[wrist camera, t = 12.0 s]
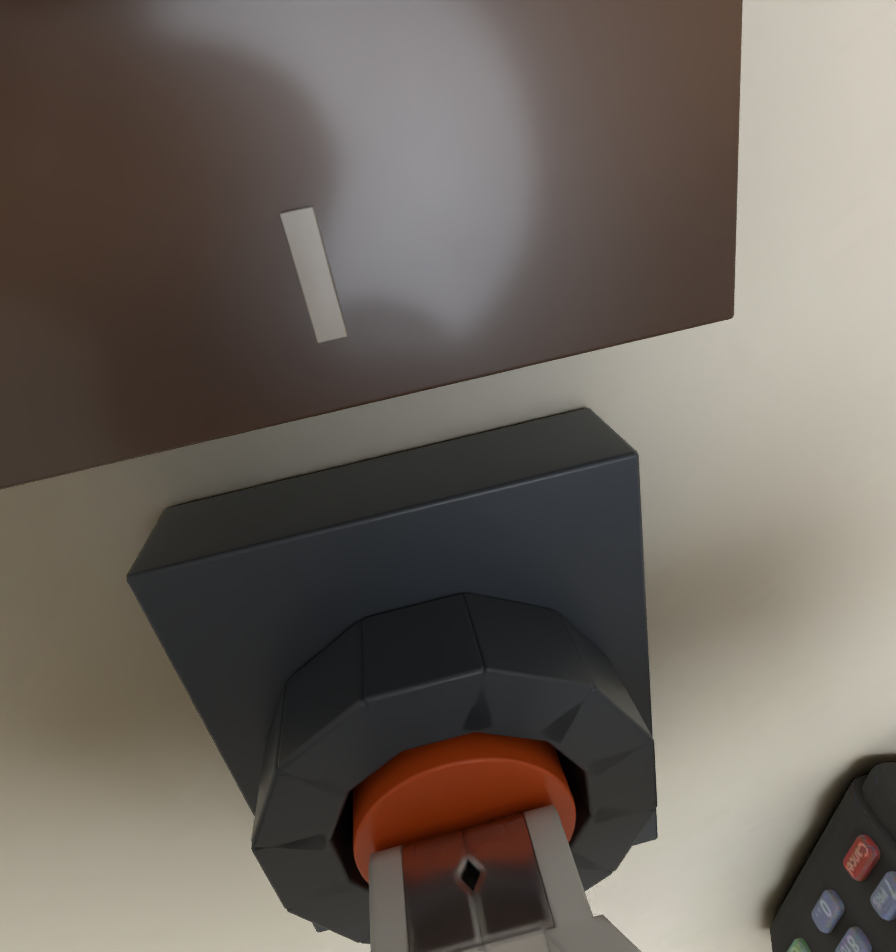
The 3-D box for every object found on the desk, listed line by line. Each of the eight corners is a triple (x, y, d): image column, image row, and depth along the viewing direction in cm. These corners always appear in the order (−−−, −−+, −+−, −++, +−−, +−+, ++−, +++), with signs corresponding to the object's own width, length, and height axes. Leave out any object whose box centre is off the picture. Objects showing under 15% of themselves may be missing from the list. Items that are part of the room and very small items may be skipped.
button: (328, 704, 10) (324, 798, 9) (532, 652, 10) (565, 734, 9) (378, 832, 12) (384, 931, 10) (555, 785, 12) (586, 875, 10)
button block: (163, 507, 11) (71, 664, 7) (589, 405, 11) (701, 507, 8) (320, 839, 15) (312, 1036, 12) (620, 758, 16) (700, 926, 12)
